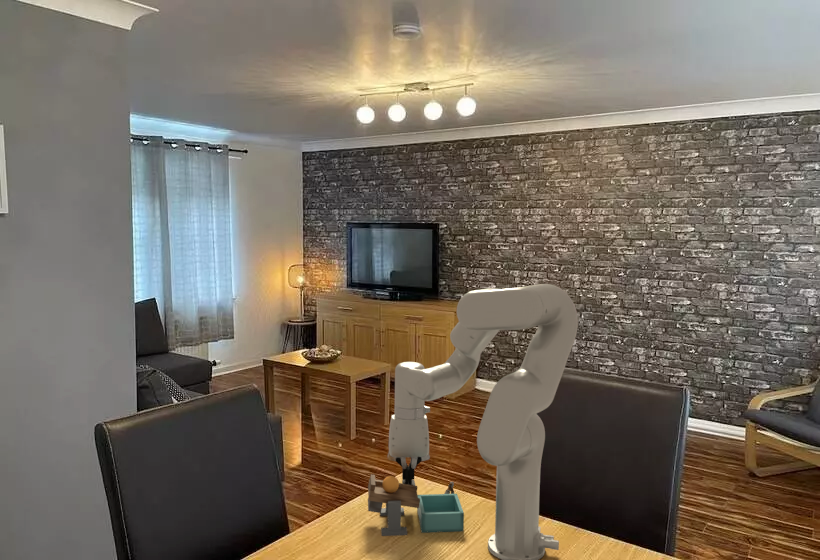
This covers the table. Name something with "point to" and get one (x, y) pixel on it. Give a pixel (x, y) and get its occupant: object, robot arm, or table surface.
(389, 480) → the ball
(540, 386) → the robot arm
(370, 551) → the table surface
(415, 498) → the lever
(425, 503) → the teal open box
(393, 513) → the lever stand
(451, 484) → the wooden post with brackets
